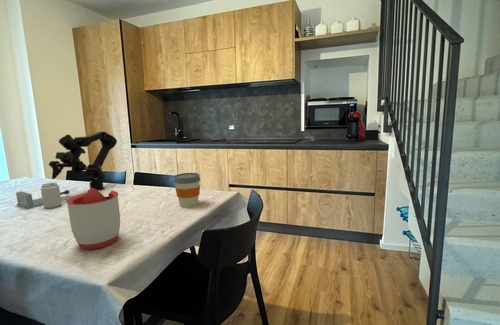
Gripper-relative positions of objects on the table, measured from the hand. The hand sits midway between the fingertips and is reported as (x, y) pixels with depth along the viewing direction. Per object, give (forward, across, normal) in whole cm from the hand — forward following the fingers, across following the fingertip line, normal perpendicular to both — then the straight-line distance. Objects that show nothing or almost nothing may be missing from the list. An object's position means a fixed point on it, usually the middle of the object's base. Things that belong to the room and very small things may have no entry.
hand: (60, 178), depth 141 cm
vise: (+8, -11, +10) cm, 17 cm away
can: (+14, 0, +4) cm, 15 cm away
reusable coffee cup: (+9, +70, +9) cm, 71 cm away
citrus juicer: (+39, +52, -20) cm, 68 cm away
